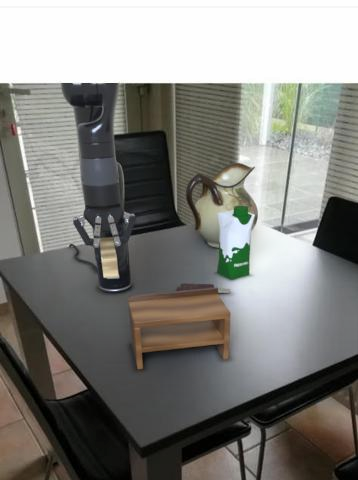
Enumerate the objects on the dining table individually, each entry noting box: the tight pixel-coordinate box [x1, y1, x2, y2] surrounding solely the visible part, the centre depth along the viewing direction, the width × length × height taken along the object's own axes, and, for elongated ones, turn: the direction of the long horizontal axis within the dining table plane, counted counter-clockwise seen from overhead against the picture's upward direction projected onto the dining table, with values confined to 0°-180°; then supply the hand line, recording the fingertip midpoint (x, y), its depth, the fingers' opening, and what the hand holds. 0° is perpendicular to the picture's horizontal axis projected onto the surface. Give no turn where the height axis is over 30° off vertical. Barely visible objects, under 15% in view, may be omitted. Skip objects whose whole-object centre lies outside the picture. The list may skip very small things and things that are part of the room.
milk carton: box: [216, 206, 255, 281], centre depth 141 cm, size 9×9×20 cm
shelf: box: [127, 286, 231, 370], centre depth 104 cm, size 11×20×12 cm, turn 101°
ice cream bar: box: [176, 283, 232, 294], centre depth 135 cm, size 5×2×15 cm
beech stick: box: [99, 237, 119, 278], centre depth 107 cm, size 15×3×4 cm, turn 10°
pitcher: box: [185, 162, 259, 249], centre depth 164 cm, size 22×24×25 cm
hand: (108, 261), depth 108 cm, fingers closed on beech stick, 3 cm apart
